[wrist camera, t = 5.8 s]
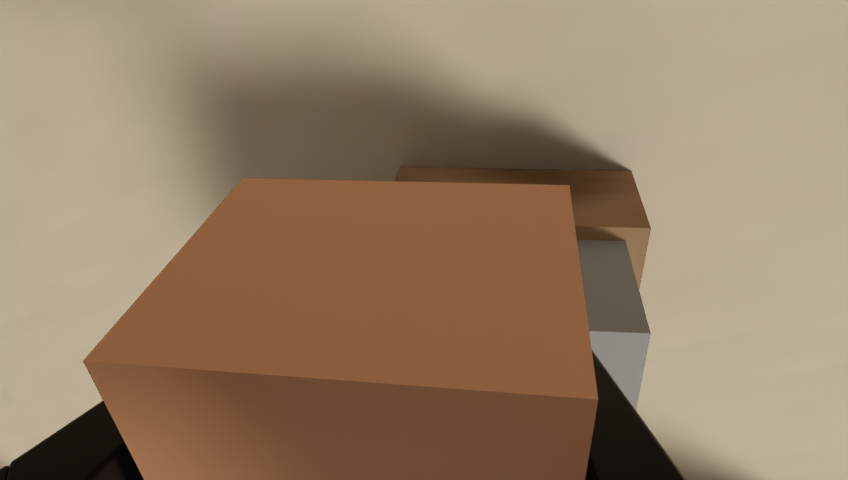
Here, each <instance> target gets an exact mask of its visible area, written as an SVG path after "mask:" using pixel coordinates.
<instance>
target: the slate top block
mask: <svg viewBox="0 0 848 480" xmlns="http://www.w3.org/2000/svg"><path fill="white" fill-rule="evenodd" d="M577 245H578V252H579V260H580V267H581V275H582V282H583V289H584V297H585V304H586V312H587V319H588V326H589V334H590V341H591V349H592V350H593V352H594V353H595V354H596V356H597V357H598V359H599V360H600V361H601V363H602V364H603V366H604V367H605V368H606V370H607V371H608V373H609V374H610V375H611V377H612V378H613V379H614V381H615V382H616V384H617V385H618V386H619V388H620V389H621V391H622V392H623V393H624V395H625V396H626V398H627V399H628V400H629V402H630V403H631V404H632V406H633V407H634V409H635V410H636V407H637V402H638V396H639V391H640V386H641V381H642V375H643V370H644V365H645V360H646V354H647V349H648V344H649V339H650V330H649V326H648V322H647V319H646V315H645V311H644V307H643V304H642V300H641V296H640V292H639V289H638V285H637V281H636V278H635V274H634V270H633V266H632V263H631V259H630V255H629V251H628V248H627V244H626V241H605V240H577Z"/></svg>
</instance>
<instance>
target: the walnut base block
mask: <svg viewBox="0 0 848 480" xmlns="http://www.w3.org/2000/svg"><path fill="white" fill-rule="evenodd" d="M395 181H403V182H448V183H493V184H539V185H569V186H570V193H571V200H572V208H573V215H574V223H575V230H576V237H577V240H605V241H626V244H627V248H628V251H629V255H630V259H631V263H632V266H633V270H634V274H635V278H636V281H637V285H638V289H639V288H640V282H641V277H642V272H643V267H644V261H645V256H646V251H647V246H648V240H649V235H650V230H651V227H650V225H649V222H648V219H647V216H646V213H645V210H644V207H643V204H642V201H641V198H640V195H639V192H638V189H637V186H636V183H635V180H634V178H633V175H632V172H631V171H616V170H555V169H495V168H434V167H400V169H399V172H398V174H397V177H396V179H395Z"/></svg>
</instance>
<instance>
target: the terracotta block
mask: <svg viewBox="0 0 848 480" xmlns="http://www.w3.org/2000/svg"><path fill="white" fill-rule="evenodd" d="M83 362H84V364H85V366H86V368H87V370H88V371H89V373H90V375H91V377H92V379H93V381H94V383H95V385H96V387H97V389H98V391H99V393H100V395H101V397H102V399H103V401H104V403H105V405H106V407H107V408H108V410H109V412H110V414H111V416H112V418H113V420H114V422H115V424H116V426H117V428H118V430H119V432H120V434H121V436H122V438H123V440H124V442H125V444H126V445H127V447H128V449H129V451H130V453H131V455H132V457H133V459H134V461H135V463H136V465H137V467H138V469H139V471H140V473H141V475H142V477H143V479H144V480H585V477H586V471H587V465H588V459H589V453H590V447H591V441H592V435H593V429H594V423H595V417H596V411H597V405H598V393H597V386H596V378H595V371H594V363H593V356H592V349H591V341H590V334H589V326H588V319H587V312H586V304H585V297H584V289H583V282H582V275H581V267H580V260H579V252H578V245H577V237H576V230H575V223H574V215H573V208H572V200H571V193H570V186H569V185H539V184H493V183H448V182H403V181H357V180H312V179H267V178H243V179H242V180H241V181H240V182H239V183H238V184H237V186H236V187H235V188H234V189H233V190H232V191H231V192H230V194H229V195H228V196H227V197H226V198H225V199H224V200H223V202H222V203H221V204H220V205H219V206H218V207H217V208H216V210H215V211H214V212H213V213H212V214H211V215H210V216H209V218H208V219H207V220H206V221H205V222H204V223H203V224H202V226H201V227H200V228H199V229H198V230H197V231H196V232H195V234H194V235H193V236H192V237H191V238H190V239H189V240H188V242H187V243H186V244H185V245H184V246H183V247H182V248H181V250H180V251H179V252H178V253H177V254H176V255H175V256H174V258H173V259H172V260H171V261H170V262H169V263H168V264H167V266H166V267H165V268H164V269H163V270H162V271H161V272H160V274H159V275H158V276H157V277H156V278H155V279H154V280H153V282H152V283H151V284H150V285H149V286H148V287H147V288H146V290H145V291H144V292H143V293H142V294H141V295H140V296H139V298H138V299H137V300H136V301H135V302H134V303H133V304H132V306H131V307H130V308H129V309H128V310H127V311H126V312H125V314H124V315H123V316H122V317H121V318H120V319H119V320H118V322H117V323H116V324H115V325H114V326H113V327H112V328H111V330H110V331H109V332H108V333H107V334H106V335H105V336H104V338H103V339H102V340H101V341H100V342H99V343H98V344H97V346H96V347H95V348H94V349H93V350H92V351H91V352H90V354H89V355H88V356H87V357H86V358H85V359H84V360H83Z"/></svg>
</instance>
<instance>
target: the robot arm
mask: <svg viewBox="0 0 848 480" xmlns="http://www.w3.org/2000/svg"><path fill="white" fill-rule="evenodd" d="M592 356H593V363H594V371H595V378H596V386H597V393H598V405H597V411H596V417H595V423H594V429H593V435H592V441H591V447H590V453H589V459H588V465H587V471H586V477H585V480H685V478H684V477H683V475H682V474H681V473H680V471H679V470H678V468H677V467H676V466H675V464H674V463H673V461H672V460H671V459H670V457H669V456H668V455H667V453H666V452H665V450H664V449H663V448H662V446H661V445H660V443H659V442H658V441H657V439H656V438H655V436H654V435H653V434H652V432H651V431H650V430H649V428H648V427H647V425H646V424H645V423H644V421H643V420H642V418H641V417H640V416H639V414H638V413H637V411H636V410H635V409H634V407H633V406H632V404H631V403H630V402H629V400H628V399H627V398H626V396H625V395H624V393H623V392H622V391H621V389H620V388H619V386H618V385H617V384H616V382H615V381H614V379H613V378H612V377H611V375H610V374H609V373H608V371H607V370H606V368H605V367H604V366H603V364H602V363H601V361H600V360H599V359H598V357H597V356H596V354H595V353H594V352H593V350H592ZM0 480H144V479H143V477H142V475H141V473H140V471H139V469H138V467H137V465H136V463H135V461H134V459H133V457H132V455H131V453H130V451H129V449H128V447H127V445H126V444H125V442H124V440H123V438H122V436H121V434H120V432H119V430H118V428H117V426H116V424H115V422H114V420H113V418H112V416H111V414H110V412H109V410H108V408H107V407H106V405H105V403H104V401H102V402H100V403H99V404H97V405H96V406H94V407H93V408H91V409H90V410H88V411H87V412H85V413H84V414H82V415H81V416H80V417H78V418H77V419H75V420H74V421H72V422H71V423H69V424H68V425H66V426H65V427H63V428H62V429H60V430H59V431H57V432H56V433H54V434H53V435H51V436H50V437H48V438H47V439H45V440H44V441H42V442H41V443H39V444H38V445H36V446H35V447H33V448H32V449H30V450H29V451H27V452H26V453H24V454H23V455H21V456H20V457H18V458H17V459H15V460H14V461H12V462H11V464H10V466H5V467H3V468H2V469H0Z"/></svg>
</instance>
